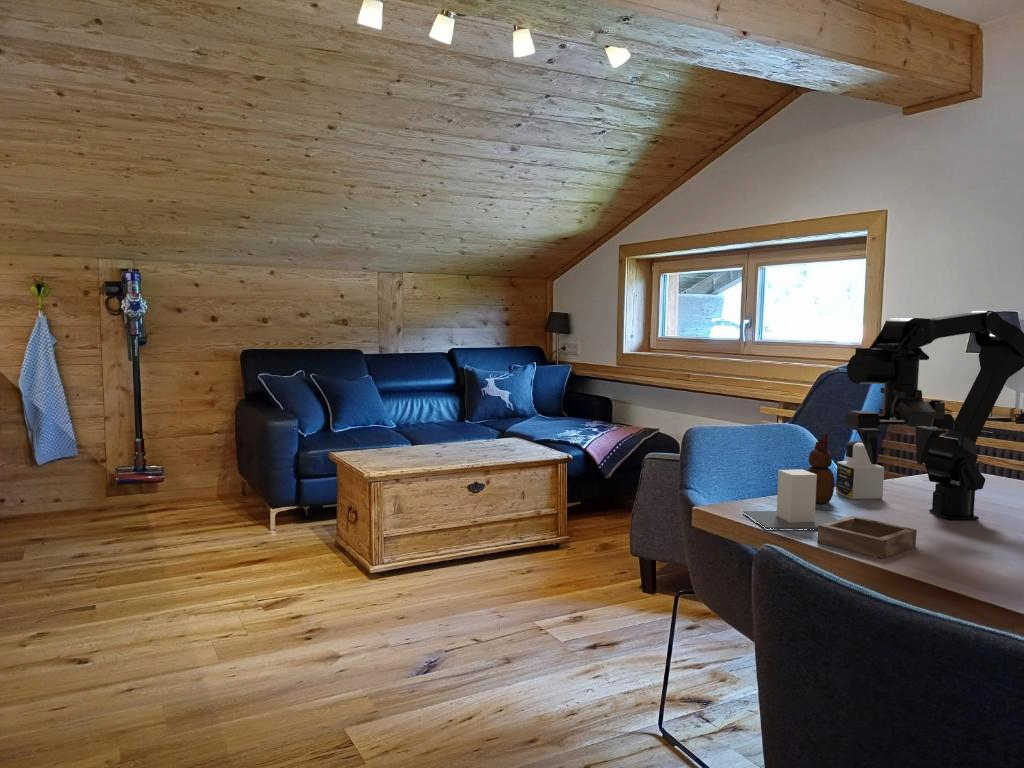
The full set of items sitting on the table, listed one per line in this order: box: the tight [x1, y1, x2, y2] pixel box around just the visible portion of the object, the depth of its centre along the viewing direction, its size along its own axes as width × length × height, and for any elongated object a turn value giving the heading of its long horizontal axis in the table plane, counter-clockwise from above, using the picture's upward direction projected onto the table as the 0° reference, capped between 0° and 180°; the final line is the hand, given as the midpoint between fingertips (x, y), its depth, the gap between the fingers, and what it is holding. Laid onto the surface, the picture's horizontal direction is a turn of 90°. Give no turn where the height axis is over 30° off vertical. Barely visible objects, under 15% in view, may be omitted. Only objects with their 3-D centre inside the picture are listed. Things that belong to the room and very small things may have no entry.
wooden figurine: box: [806, 433, 835, 505], centre depth 163 cm, size 7×6×15 cm
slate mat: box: [742, 510, 839, 531], centre depth 147 cm, size 16×12×1 cm
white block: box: [776, 468, 817, 523], centre depth 147 cm, size 5×5×9 cm
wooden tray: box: [816, 515, 918, 559], centre depth 133 cm, size 11×11×3 cm
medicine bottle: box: [835, 440, 885, 500], centre depth 170 cm, size 7×7×12 cm
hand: (896, 464), depth 149 cm, fingers open, 9 cm apart
